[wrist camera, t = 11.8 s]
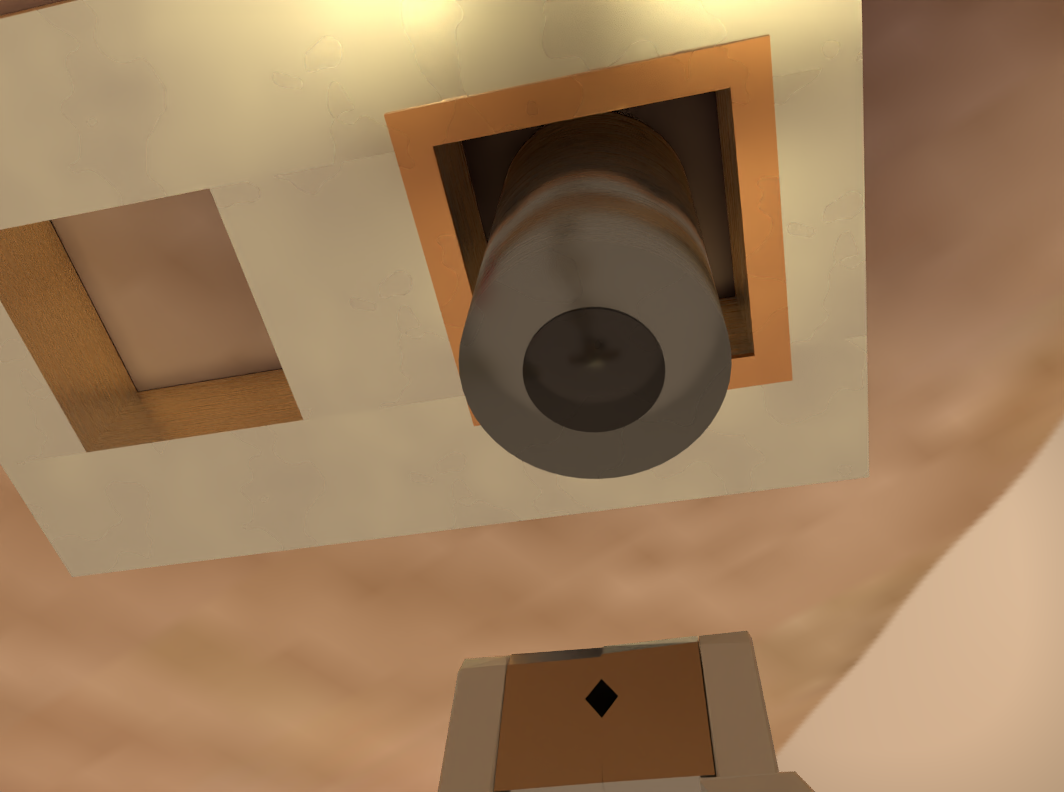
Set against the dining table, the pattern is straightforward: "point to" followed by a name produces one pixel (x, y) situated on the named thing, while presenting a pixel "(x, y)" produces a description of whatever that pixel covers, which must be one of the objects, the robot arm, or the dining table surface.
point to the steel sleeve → (595, 306)
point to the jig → (397, 256)
